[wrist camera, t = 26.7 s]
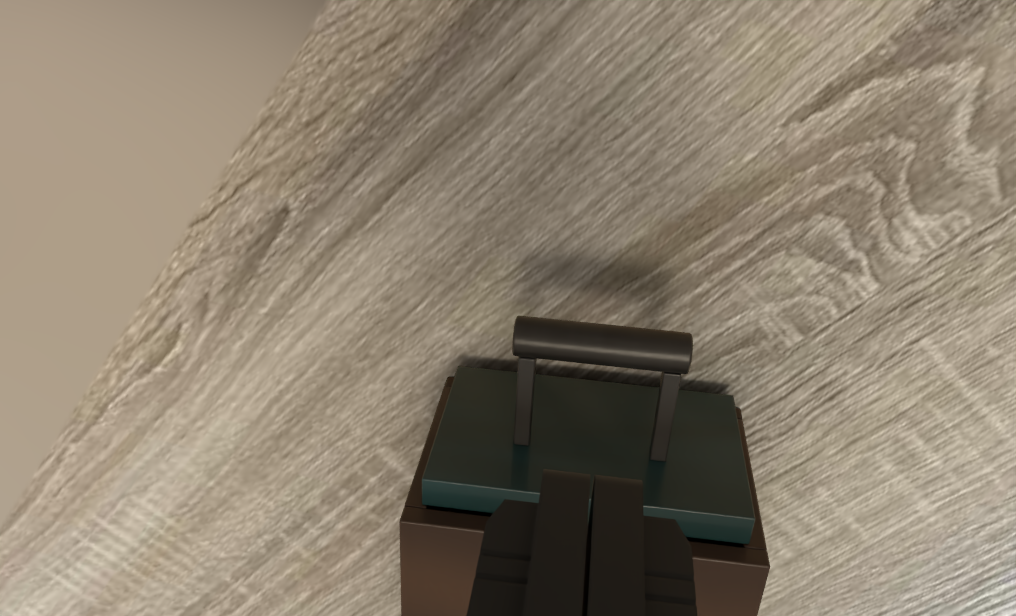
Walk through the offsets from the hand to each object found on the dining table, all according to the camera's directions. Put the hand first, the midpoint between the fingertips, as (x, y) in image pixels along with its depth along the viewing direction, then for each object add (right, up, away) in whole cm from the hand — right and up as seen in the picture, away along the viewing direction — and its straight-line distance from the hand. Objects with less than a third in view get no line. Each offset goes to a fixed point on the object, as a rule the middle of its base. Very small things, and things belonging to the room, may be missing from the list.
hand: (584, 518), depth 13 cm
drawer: (+2, -3, +25) cm, 25 cm away
